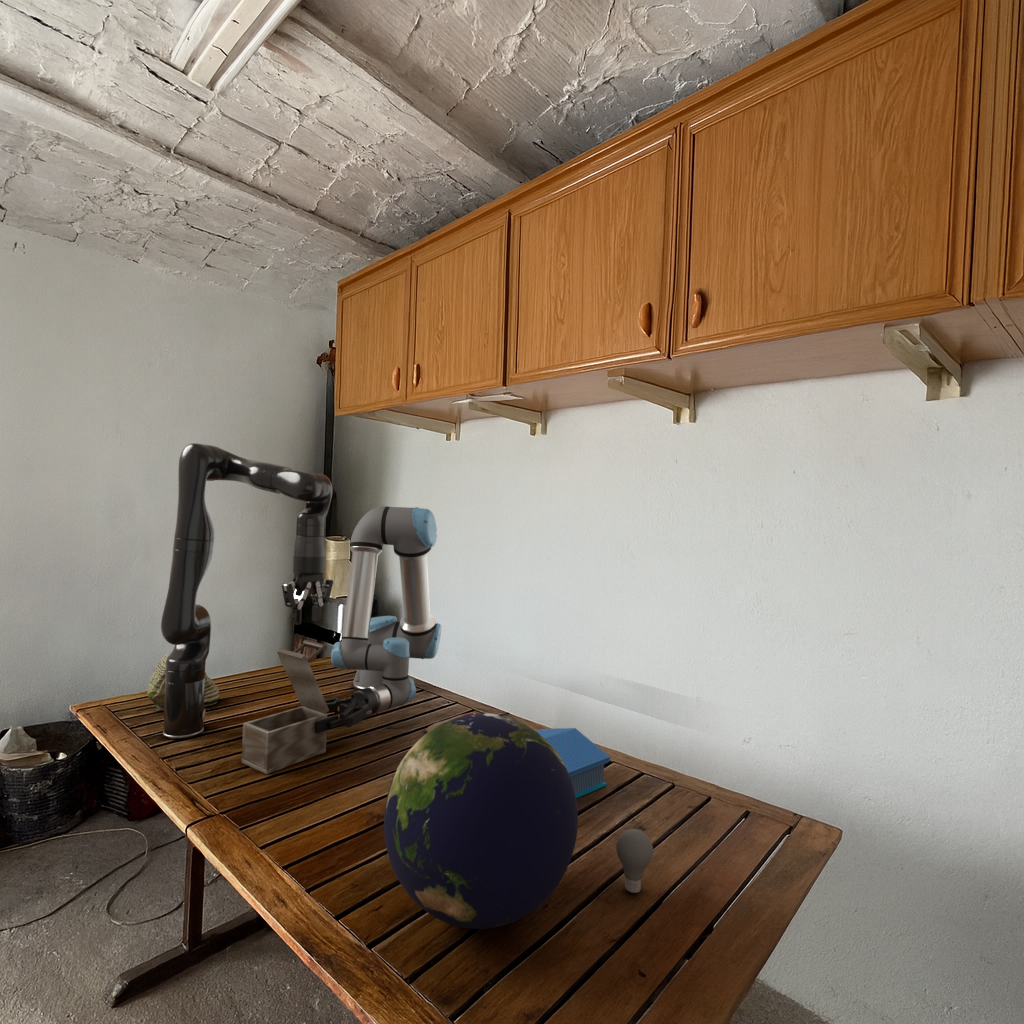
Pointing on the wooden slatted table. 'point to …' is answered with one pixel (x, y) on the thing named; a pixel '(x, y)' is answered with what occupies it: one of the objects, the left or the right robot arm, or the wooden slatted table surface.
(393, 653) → the right robot arm
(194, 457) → the left robot arm
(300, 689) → the lid
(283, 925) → the wooden slatted table surface
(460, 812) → the globe
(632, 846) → the light bulb
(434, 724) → the anatomical model
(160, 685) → the fossil
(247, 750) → the chest
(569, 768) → the model building
